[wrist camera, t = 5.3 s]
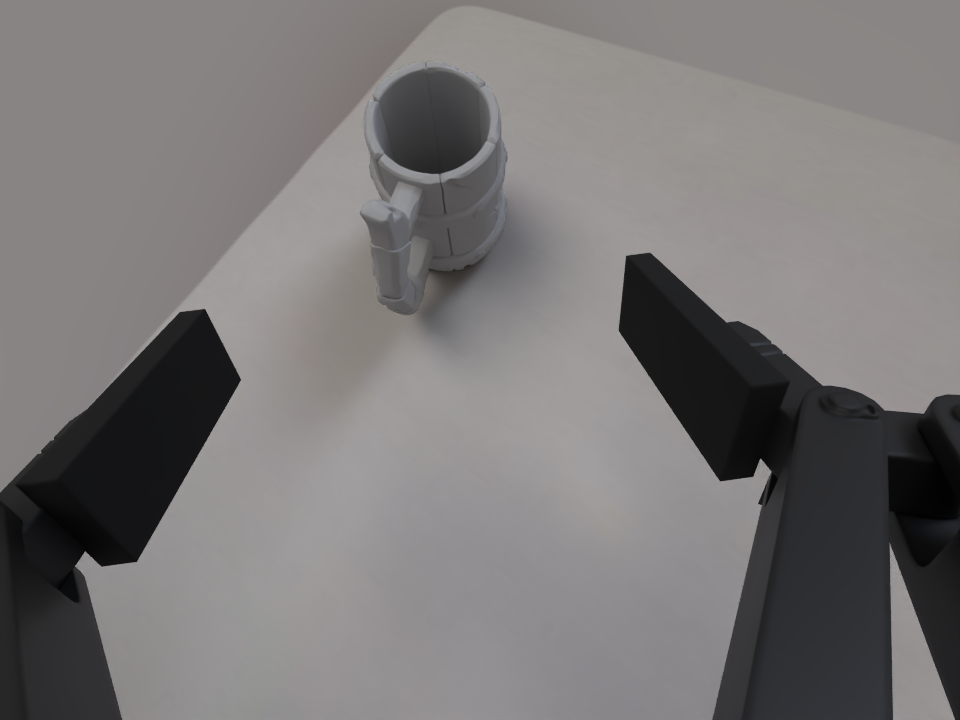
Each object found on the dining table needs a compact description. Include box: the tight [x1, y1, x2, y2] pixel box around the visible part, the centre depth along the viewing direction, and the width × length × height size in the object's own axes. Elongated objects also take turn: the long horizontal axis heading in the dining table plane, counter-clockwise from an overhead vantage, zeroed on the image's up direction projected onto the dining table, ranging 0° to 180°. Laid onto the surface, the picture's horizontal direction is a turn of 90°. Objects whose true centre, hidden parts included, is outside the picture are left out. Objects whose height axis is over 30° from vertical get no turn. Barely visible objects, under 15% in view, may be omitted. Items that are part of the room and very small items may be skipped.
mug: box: [360, 61, 507, 315], centre depth 24 cm, size 8×12×12 cm, turn 161°
